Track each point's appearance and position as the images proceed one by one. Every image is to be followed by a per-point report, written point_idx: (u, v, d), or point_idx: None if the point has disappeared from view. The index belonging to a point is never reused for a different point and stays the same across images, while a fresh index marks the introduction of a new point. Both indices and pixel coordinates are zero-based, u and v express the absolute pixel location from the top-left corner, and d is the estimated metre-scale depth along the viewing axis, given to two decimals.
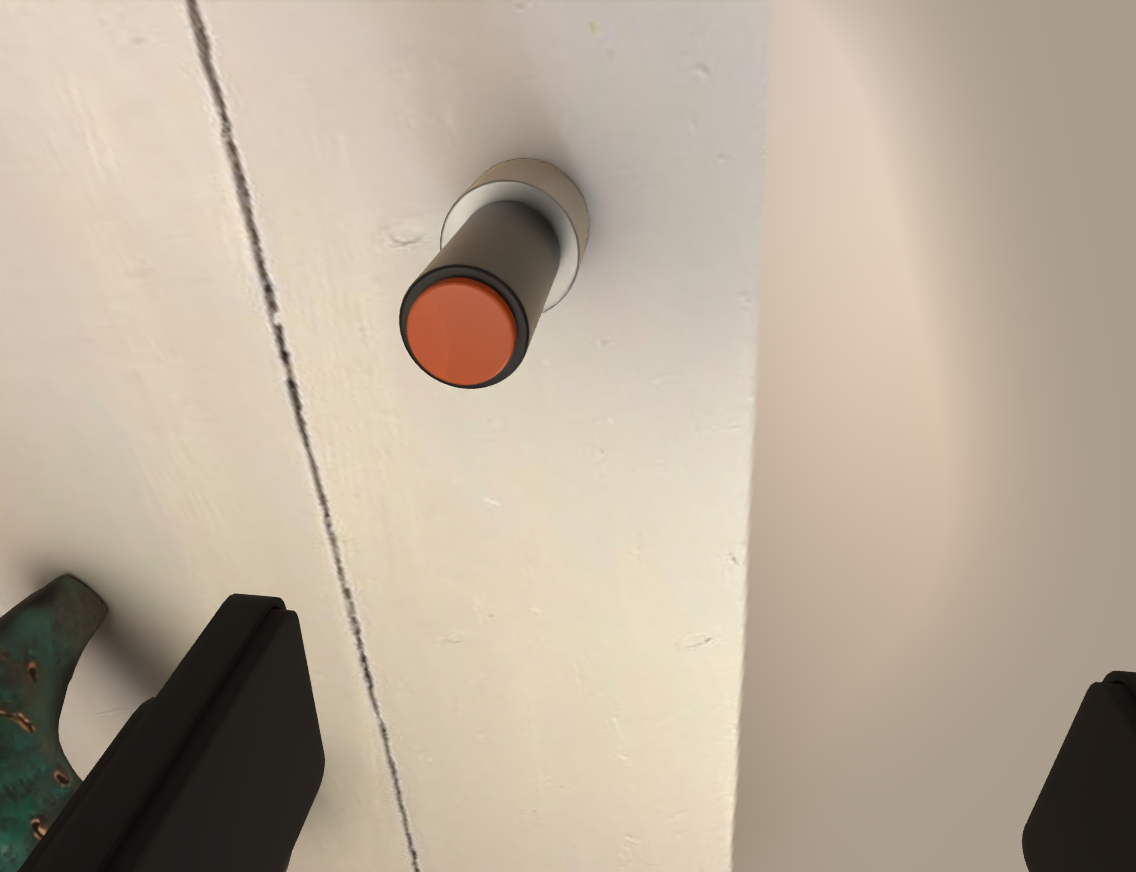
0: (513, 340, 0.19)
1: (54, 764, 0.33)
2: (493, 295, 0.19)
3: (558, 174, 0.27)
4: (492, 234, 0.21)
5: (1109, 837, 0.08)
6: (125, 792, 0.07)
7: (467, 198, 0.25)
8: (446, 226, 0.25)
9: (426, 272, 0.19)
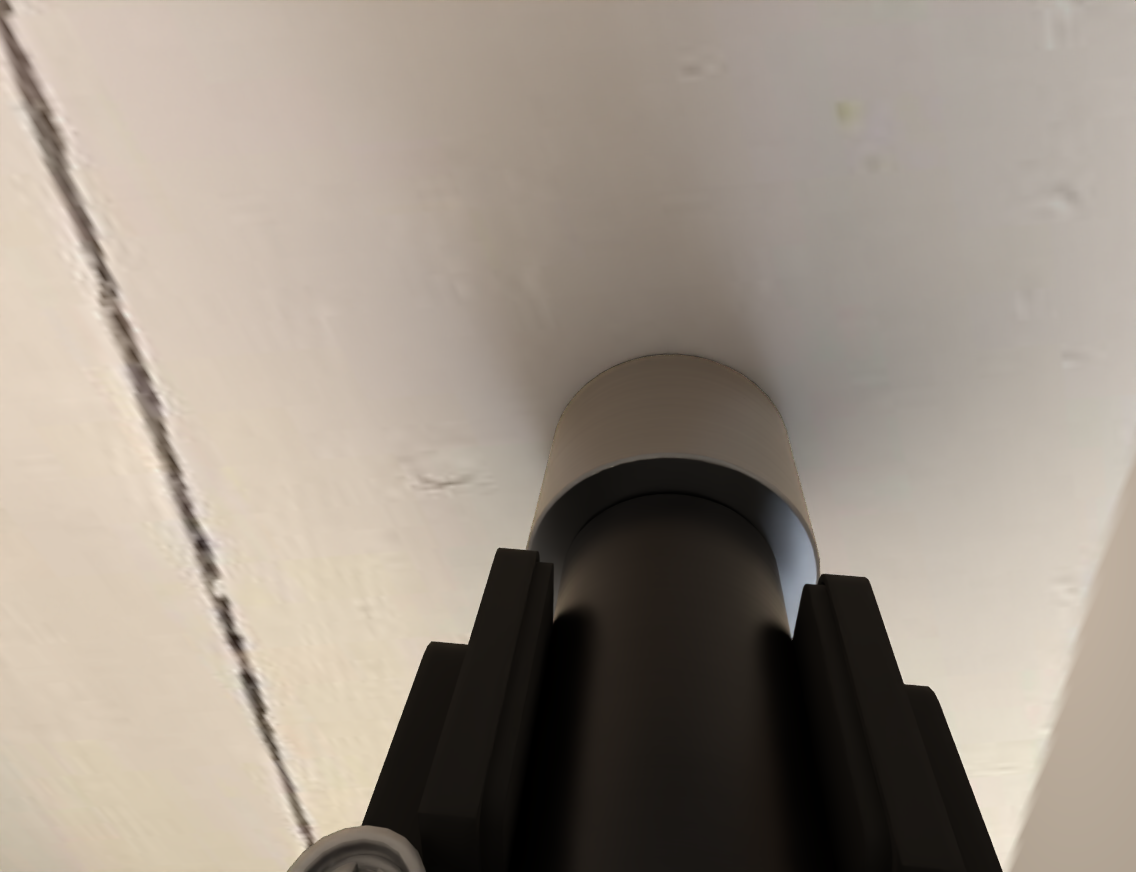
0: None
1: None
2: None
3: (748, 391, 0.14)
4: (702, 695, 0.08)
5: None
6: (481, 711, 0.08)
7: (588, 484, 0.11)
8: (540, 531, 0.12)
9: None
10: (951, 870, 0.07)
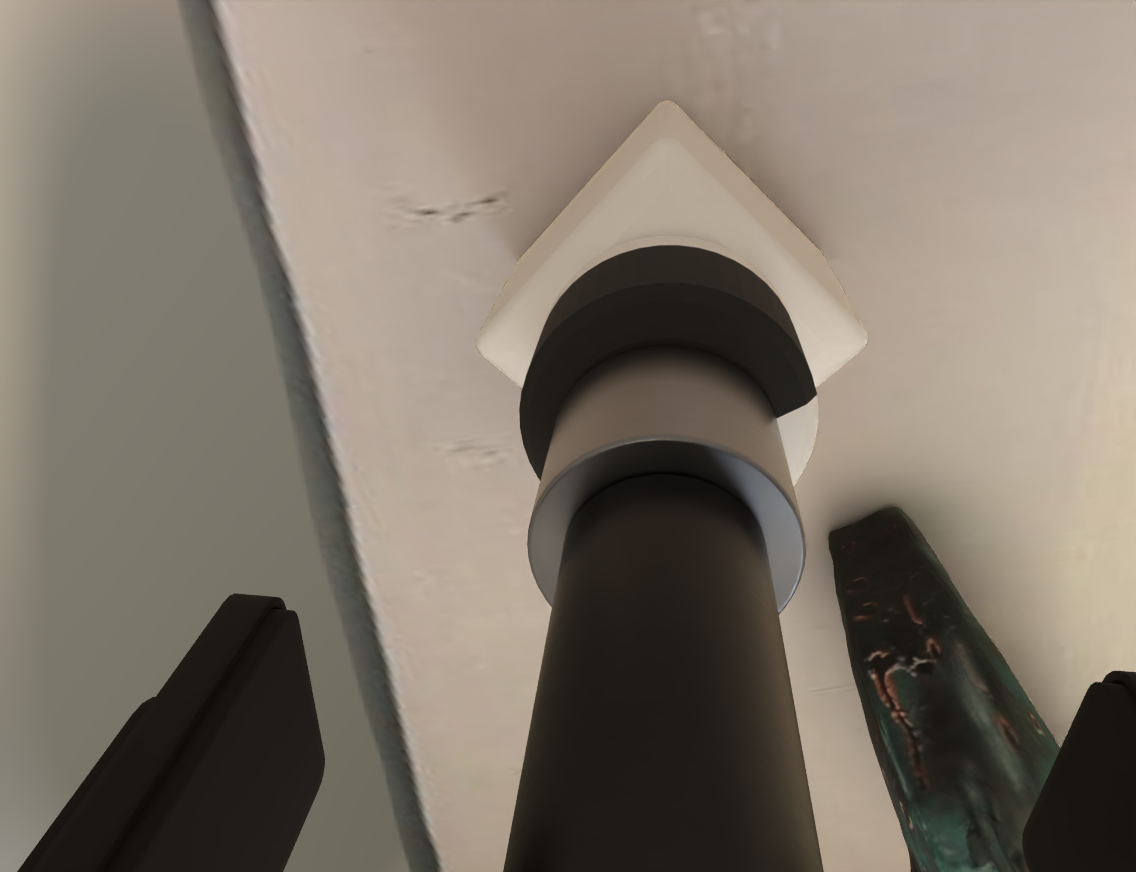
0: None
1: None
2: None
3: (739, 380, 0.14)
4: (693, 651, 0.09)
5: (1109, 837, 0.08)
6: (125, 792, 0.07)
7: (587, 466, 0.12)
8: (542, 511, 0.13)
9: None
10: None
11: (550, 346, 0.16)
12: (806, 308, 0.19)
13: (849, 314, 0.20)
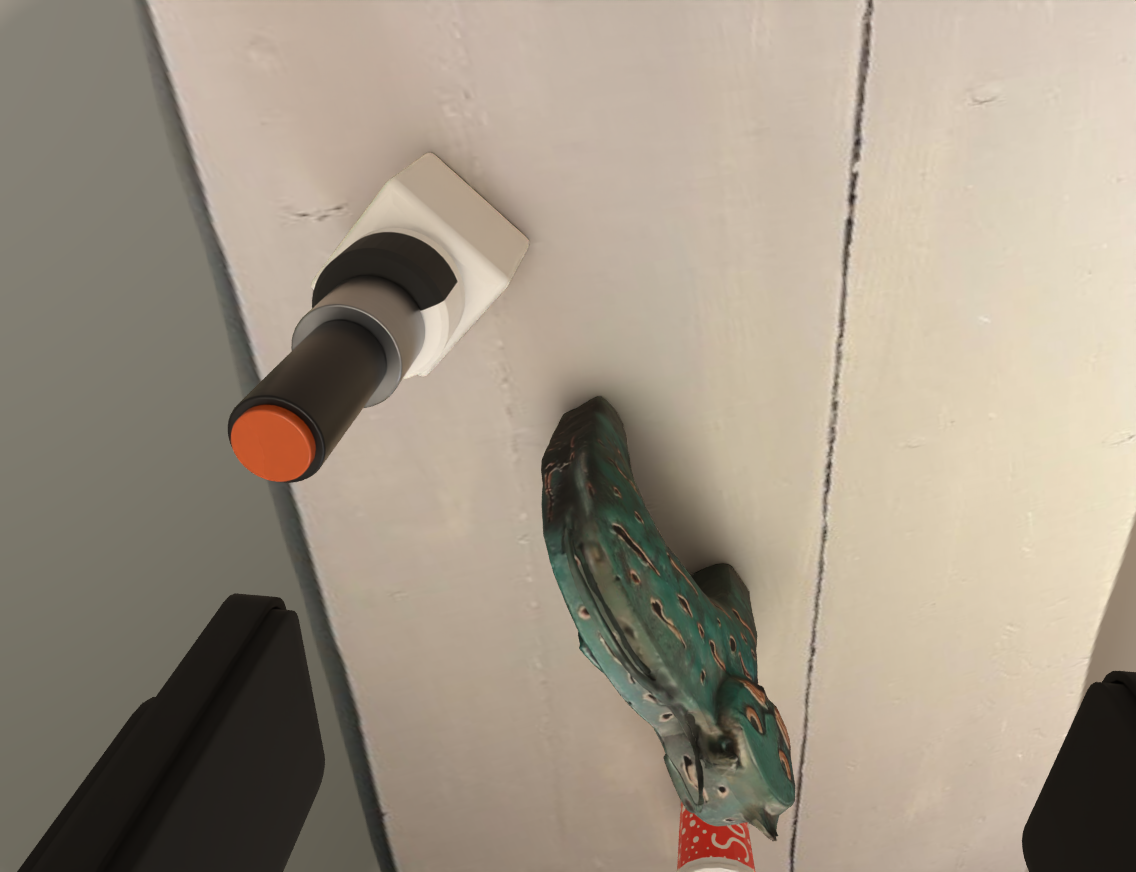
0: (310, 450, 0.25)
1: (653, 522, 0.43)
2: (292, 418, 0.25)
3: (393, 290, 0.33)
4: (309, 360, 0.27)
5: (1109, 837, 0.08)
6: (125, 792, 0.07)
7: (309, 317, 0.31)
8: (295, 338, 0.31)
9: (244, 400, 0.25)
10: None
11: (320, 278, 0.34)
12: (472, 264, 0.38)
13: (497, 268, 0.38)
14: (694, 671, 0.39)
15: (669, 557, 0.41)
